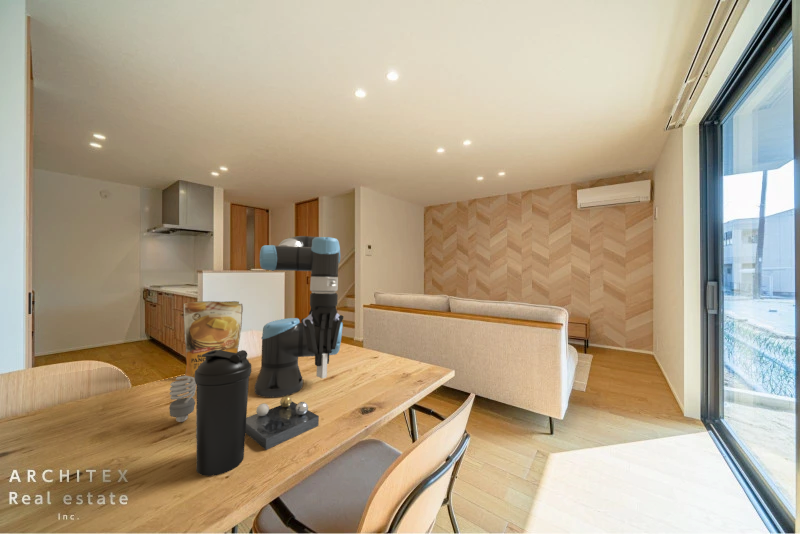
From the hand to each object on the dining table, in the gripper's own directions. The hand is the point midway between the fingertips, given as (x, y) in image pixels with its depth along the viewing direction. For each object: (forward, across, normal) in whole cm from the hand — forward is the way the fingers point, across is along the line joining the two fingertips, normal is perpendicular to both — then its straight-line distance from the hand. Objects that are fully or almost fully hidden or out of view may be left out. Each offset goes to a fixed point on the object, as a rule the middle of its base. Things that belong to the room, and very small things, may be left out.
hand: (321, 376), depth 81 cm
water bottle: (+11, -25, -1) cm, 28 cm away
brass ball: (+7, -6, +7) cm, 12 cm away
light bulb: (+11, -26, +24) cm, 37 cm away
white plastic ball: (+7, -13, +7) cm, 16 cm away
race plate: (+11, -10, +3) cm, 15 cm away
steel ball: (+7, -6, 0) cm, 9 cm away
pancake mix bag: (+11, -9, +55) cm, 57 cm away
